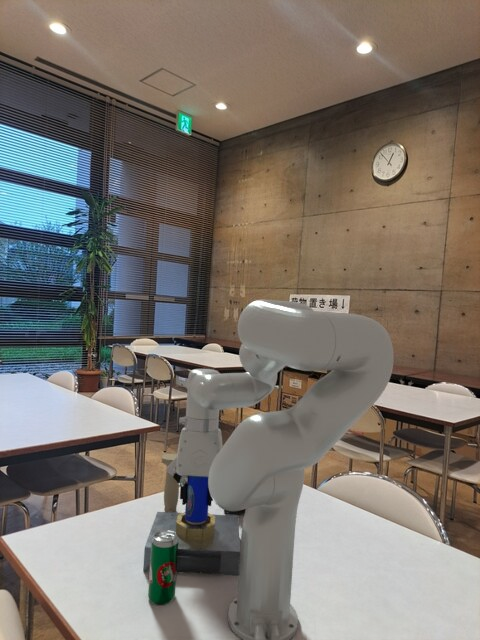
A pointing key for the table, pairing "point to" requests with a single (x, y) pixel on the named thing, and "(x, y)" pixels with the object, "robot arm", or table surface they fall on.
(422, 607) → the table surface
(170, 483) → the handle
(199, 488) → the beverage can
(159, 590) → the soda can
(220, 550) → the grey block platform
